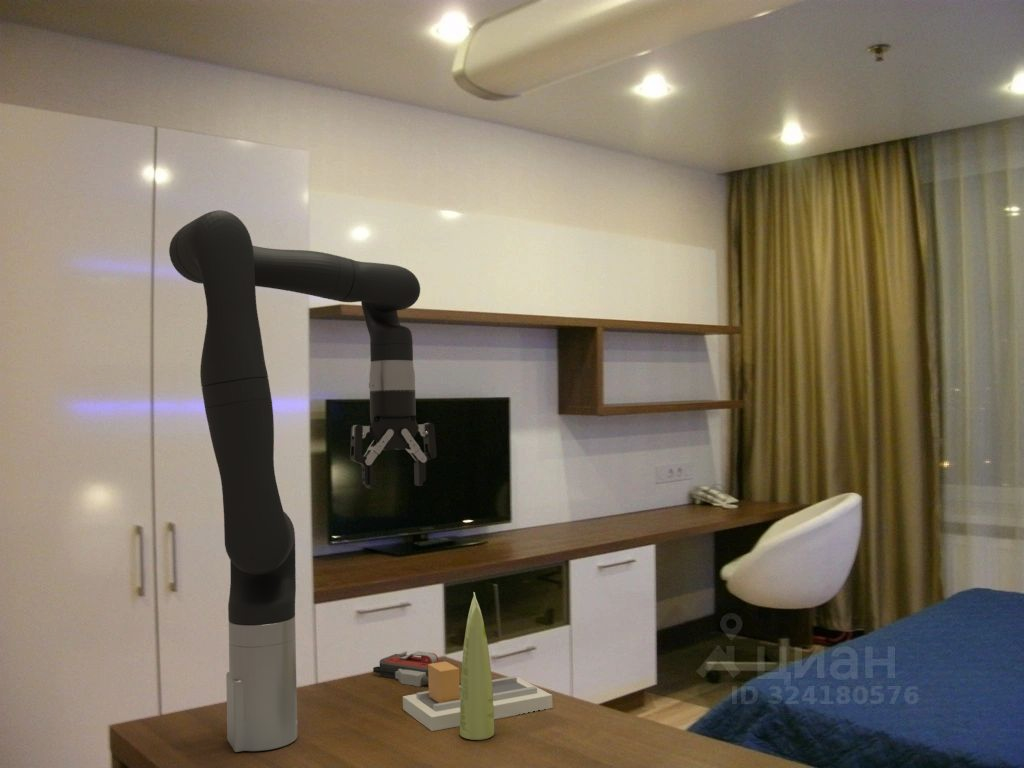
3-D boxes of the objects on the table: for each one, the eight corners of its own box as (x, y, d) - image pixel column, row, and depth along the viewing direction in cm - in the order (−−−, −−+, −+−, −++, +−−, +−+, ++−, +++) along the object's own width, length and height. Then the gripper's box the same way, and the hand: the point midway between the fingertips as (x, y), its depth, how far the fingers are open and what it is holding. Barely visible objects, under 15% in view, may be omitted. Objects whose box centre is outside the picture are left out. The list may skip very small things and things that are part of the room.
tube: (505, 735, 130) (501, 596, 131) (479, 744, 127) (476, 602, 127) (477, 726, 134) (474, 591, 135) (451, 735, 131) (448, 597, 131)
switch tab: (441, 704, 137) (440, 671, 138) (428, 696, 142) (428, 664, 142) (459, 701, 139) (458, 668, 139) (446, 693, 143) (446, 661, 143)
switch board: (432, 731, 133) (431, 711, 133) (402, 709, 143) (402, 691, 144) (552, 708, 142) (551, 689, 142) (516, 689, 153) (516, 671, 153)
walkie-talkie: (364, 680, 162) (457, 695, 151) (363, 655, 162) (456, 668, 151) (396, 668, 169) (486, 681, 159) (395, 644, 169) (485, 655, 159)
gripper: (357, 388, 146) (360, 490, 145) (440, 387, 152) (443, 485, 152) (344, 390, 153) (346, 488, 152) (424, 389, 159) (426, 483, 158)
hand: (394, 486), depth 152 cm, fingers open, 8 cm apart
